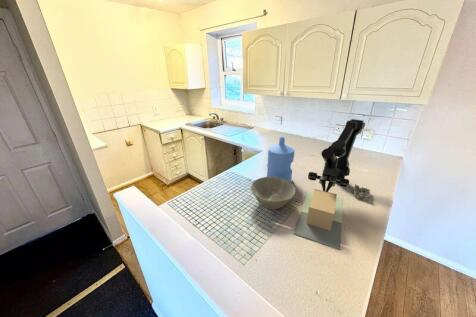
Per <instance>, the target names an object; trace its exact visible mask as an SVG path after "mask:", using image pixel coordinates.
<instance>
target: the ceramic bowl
mask: <svg viewBox="0 0 476 317" xmlns="http://www.w3.org/2000/svg"><path fill="white" fill-rule="evenodd" d="M250 190H251V193H252V195H254V197H255V199H256V200H257V202H258V204H259V206H260V205H261V206H262V207H263V208H265V209H268V210H278V209H280V208H282V207H284V206H286V205H287V204H288V203H289V202H290V201H291V200H292V199H293V198H294V196H295V194H296V187H295V186H294V184H293V183H291V182H289V181H287V180H285V179H282V178H277V177H267V176H265V177H260V178H257V179H255V180H253V182H252V183H251V185H250Z"/></svg>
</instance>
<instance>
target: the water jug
mask: <svg viewBox="0 0 476 317" xmlns="http://www.w3.org/2000/svg"><path fill="white" fill-rule="evenodd" d="M285 140H286V137H283V136H281V137H279V142H278V143H277V144H275V145H271V146H269V148H268V149H267V164H266V166H267V169H266V170H267V171H266V177H277V178H282V179H285V180H287V181H289V182H290V183H291V182H292V180H293V169H292V167H291V166H292V164H293V162H294V160H295V159H294V158H295V149H294V148H293V147H291V146H290V145H287V144H285V142H286V141H285Z"/></svg>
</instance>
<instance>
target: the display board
mask: <svg viewBox="0 0 476 317" xmlns="http://www.w3.org/2000/svg"><path fill="white" fill-rule="evenodd" d="M313 193H314V191H309V190H307V193H306V196H305V199H304V202H303V205H302V207H301V210H300V212H299V216H298V219H297V222H296V225H295V228H294V230H293V233H292V234H293V235H296V236H298V237H302V238H305V239H307V240H309V241H313V242H316V243H319V244H322V245H325V246H328V247H331V248H334V249H337V250H338V251H339V250H341V248H342V247H341V246H342V245H341V243H342V227H343V226H342V225H343V206H344V199H343V198H339V197H336V204H335V212H334V217H333V222H332V226H331V230H327V229H323V228H320V227H317V226H314V225H311V224H307V223H306V222H307V216H308V210H309V205H310V202H311V199H312V196H313Z"/></svg>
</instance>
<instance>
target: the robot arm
mask: <svg viewBox="0 0 476 317" xmlns="http://www.w3.org/2000/svg"><path fill="white" fill-rule="evenodd" d="M344 126H345V127H344V128H343V130H342V132H341V133H340V135H339V137H338V138H337V140H335V141H333V142H332V143H331V145H329V146H328V147H326V148H324V149H323V150H322V151H321V157H322V159H323V161H324V167H323V170H322V175H318V173H317V172H314V171H313V172H312V171H309V172H308V175H307V178H308V180H309V181H317V180H319V181H318V182H319V185H320V184H321V188H322V191H325V192H329V191H330V190H331V188H332V187H335V186H336V184H338V186H340V187H342V188H346V189H347V188H348V187H349V186H350V179H348V178H346V177H347V176H348V177H349V176H350V173H351V169H350V160H349V158H350V155H351V153H352V150H353V147H354V144H355V142H356V139H357V136H358V135H360V134H361V133H362V131H363V129H365V126H366V122H365V121H364V120H362V119H361V120H360V119H354V118H351V119H349V120H347V121H346V123H345V125H344ZM326 182H328V184H327V183H326ZM326 184H327V186H326Z"/></svg>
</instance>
